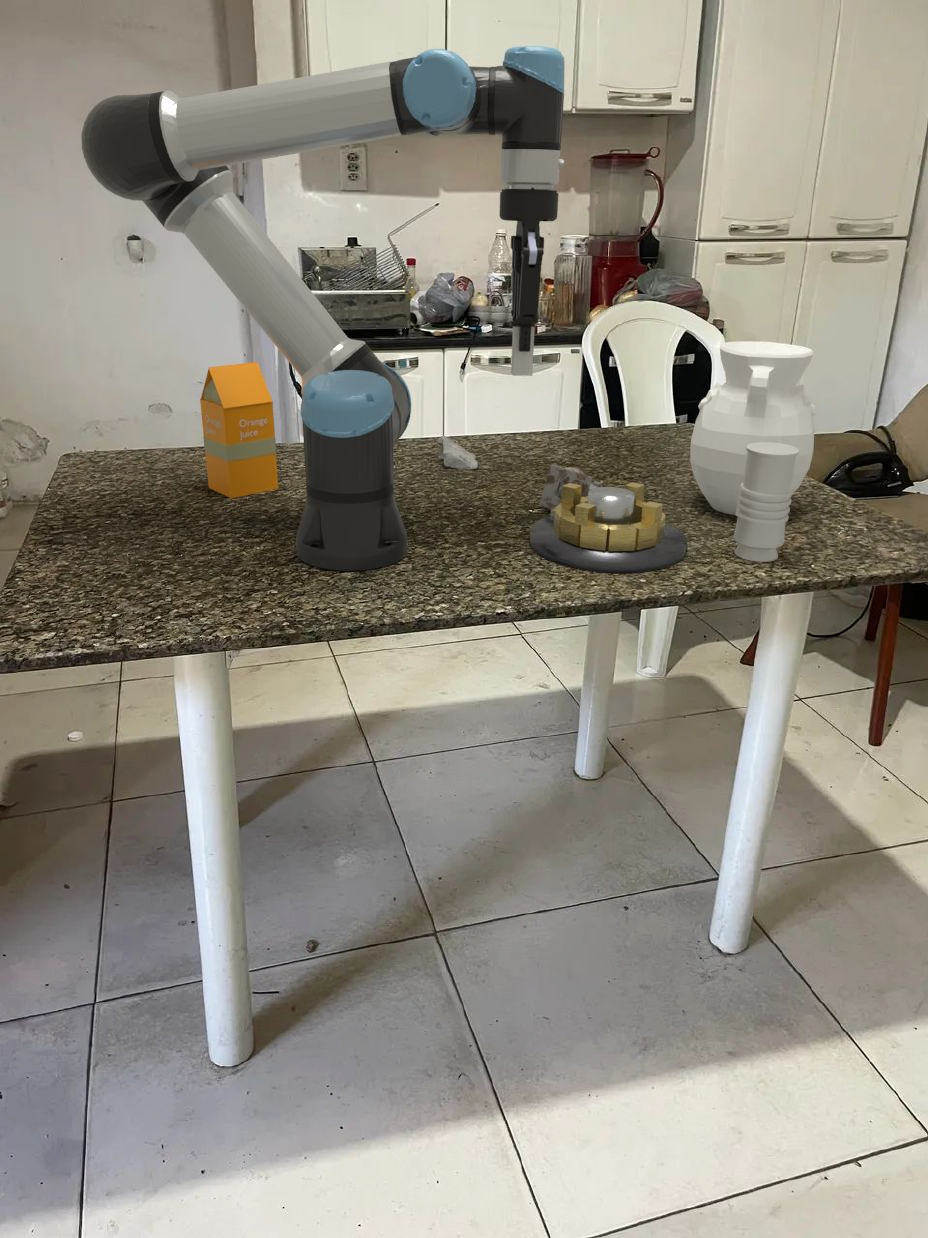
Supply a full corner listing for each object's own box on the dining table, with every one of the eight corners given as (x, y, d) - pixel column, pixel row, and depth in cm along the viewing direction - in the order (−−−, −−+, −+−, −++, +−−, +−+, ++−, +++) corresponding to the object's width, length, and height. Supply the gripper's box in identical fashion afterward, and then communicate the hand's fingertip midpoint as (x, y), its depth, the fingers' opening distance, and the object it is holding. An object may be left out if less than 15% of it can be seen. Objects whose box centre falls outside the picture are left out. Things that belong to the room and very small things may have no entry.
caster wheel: (615, 518, 154) (607, 528, 144) (549, 497, 156) (538, 505, 146) (628, 478, 152) (621, 486, 142) (561, 457, 154) (550, 464, 144)
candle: (733, 542, 136) (748, 439, 130) (783, 549, 134) (801, 445, 128) (727, 558, 130) (742, 451, 124) (779, 565, 128) (797, 457, 122)
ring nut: (566, 551, 126) (569, 512, 124) (546, 516, 140) (548, 480, 138) (675, 549, 128) (680, 510, 126) (645, 514, 142) (648, 479, 139)
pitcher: (801, 532, 141) (831, 360, 131) (676, 517, 146) (695, 351, 136) (803, 497, 157) (830, 342, 147) (690, 485, 163) (708, 334, 152)
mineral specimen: (469, 458, 180) (471, 435, 179) (479, 471, 169) (480, 447, 168) (436, 457, 179) (436, 434, 178) (443, 470, 168) (444, 446, 167)
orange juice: (207, 487, 156) (195, 363, 148) (255, 478, 162) (245, 358, 154) (231, 498, 151) (220, 371, 143) (279, 488, 157) (271, 365, 148)
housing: (544, 574, 124) (547, 520, 121) (518, 520, 144) (520, 472, 141) (707, 571, 126) (715, 517, 123) (660, 518, 146) (665, 470, 143)
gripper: (567, 188, 116) (556, 383, 126) (550, 187, 128) (541, 365, 138) (506, 186, 115) (499, 383, 125) (495, 186, 128) (490, 365, 137)
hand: (521, 373), depth 131 cm, fingers closed
